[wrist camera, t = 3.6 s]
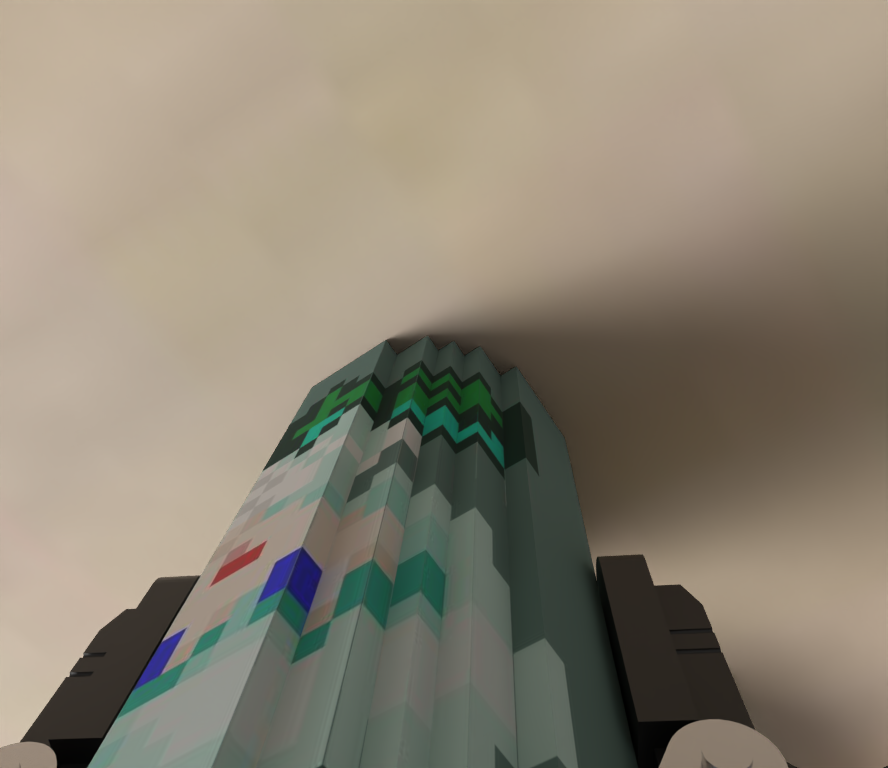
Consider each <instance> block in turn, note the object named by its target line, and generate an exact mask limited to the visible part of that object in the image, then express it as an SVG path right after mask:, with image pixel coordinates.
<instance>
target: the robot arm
mask: <svg viewBox="0 0 888 768" xmlns="http://www.w3.org/2000/svg"><path fill="white" fill-rule="evenodd" d="M200 576H201V575H200ZM200 576H180V577H161V578H158V579H157V580H156V581H155V582H154V583H153V584H152V586H151V587H150V589H149V590H148V592H147V593H146V595H145V596H144V598H143V599H142V601H141V602H140V604H139V605H138V607H137V608H136V609H126V610H125V611H124V612H122V613H121V614H120V615H119V616H117V617H116V618H115V619H113V620H112V621H111V622H110V623H108V624H107V625H106V626H105V627H103V628H102V629H101V630H100V631H99V632H98V634H97V635H96V636H95V638H94V639H93V641H92V642H91V643H90V645H89V646H88V648H87V649H86V650H85V652H84V653H83V654H84V656H83V658H80V659H79V660H78V662H77V663H76V664H75V666H74V667H73V669H72V670H71V671H70V677H66V678H65V680H64V681H63V683H62V684H61V685H60V687H59V688H58V690H57V691H56V692H55V694H54V695H53V697H52V698H51V699H50V701H49V702H48V704H47V705H46V706H45V708H44V709H43V711H42V712H41V713H40V715H39V716H38V718H37V719H36V720H35V722H34V723H33V725H32V726H31V727H30V729H29V730H28V732H27V733H26V734H25V736H24V737H23V739H22V740H21V741H20V743H15V744H11V745H8V746H4V747H1V748H0V768H87V767H88V766H89V764H90V762H91V761H92V759H93V757H94V756H95V754H96V752H97V750H98V749H99V747H100V745H101V744H102V742H103V740H104V739H105V737H106V735H107V734H108V732H109V730H110V728H111V727H112V725H113V723H114V722H115V720H116V718H117V717H118V715H119V713H120V712H121V710H122V708H123V706H124V705H125V703H126V701H127V700H128V698H129V696H130V695H131V693H132V691H133V690H134V688H135V686H136V684H137V683H138V681H139V679H140V678H141V676H142V674H143V673H144V671H145V669H146V667H147V666H148V664H149V662H150V661H151V659H152V657H153V656H154V654H155V652H156V651H157V649H158V647H159V645H160V644H161V642H162V640H163V639H164V637H165V635H166V634H167V632H168V630H169V629H170V627H171V625H172V623H173V622H174V620H175V618H176V617H177V615H178V613H179V612H180V610H181V608H182V607H183V605H184V603H185V601H186V600H187V598H188V596H189V595H190V593H191V591H192V590H193V588H194V586H195V585H196V583H197V581H198V579H199V578H200ZM596 577H597V585H598V590H599V594H600V599H601V603H602V608H603V612H604V617H605V621H606V626H607V630H608V635H609V639H610V644H611V648H612V653H613V657H614V662H615V666H616V671H617V675H618V680H619V684H620V689H621V693H622V698H623V702H624V707H625V711H626V716H627V720H628V725H629V729H630V734H631V738H632V743H633V747H634V752H635V756H636V761H637V765H638V768H797V767H795V766H793V765H791V764H789V763H788V762H786V760H785V758H784V757H783V755H782V753H781V752H780V750H779V749H778V748H777V747H776V746H775V745H774V744H773V743H772V742H771V741H770V740H769V739H768V738H767V737H765V736H764V735H762V734H761V733H759V732H758V731H756V730H755V729H754V727H753V724H752V722H751V720H750V717H749V715H748V712H747V710H746V708H745V705H744V703H743V700H742V698H741V696H740V693H739V691H738V689H737V686H736V684H735V681H734V679H733V677H732V674H731V672H730V669H729V667H728V665H727V662H726V660H725V658H724V655H723V653H721V650H720V646H719V643H718V641H717V638H716V636H715V634H714V633H713V632H712V627H711V624H710V622H709V619H708V617H707V615H706V612H705V610H704V607H703V605H702V604H701V603H700V602H699V601H698V600H697V599H696V598H695V597H693V596H692V595H691V594H690V593H689V592H688V591H687V590H686V589H684V588H683V587H682V586H681V585H661V586H654V584H653V581H652V578H651V575H650V572H649V569H648V566H647V563H646V560H645V558H644V556H643V555H623V556H602V557H597V561H596ZM884 768H888V766H886V767H884Z"/></svg>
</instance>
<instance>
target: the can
mask: <svg viewBox="0 0 888 768" xmlns="http://www.w3.org/2000/svg"><path fill="white" fill-rule="evenodd" d="M87 768H638V765H637V761H636V756H635V752H634V747H633V743H632V738H631V734H630V729H629V725H628V720H627V716H626V711H625V707H624V702H623V698H622V693H621V689H620V684H619V680H618V675H617V671H616V666H615V662H614V657H613V653H612V648H611V644H610V639H609V635H608V630H607V626H606V621H605V617H604V612H603V608H602V603H601V599H600V594H599V590H598V585H597V581H596V576H595V572H594V567H593V563H592V558H591V554H590V549H589V545H588V540H587V536H586V531H585V527H584V522H583V518H582V513H581V509H580V504H579V500H578V495H577V491H576V486H575V482H574V477H573V473H572V468H571V464H570V459H569V455H568V450H567V446H566V441H565V438H564V436H563V435H562V433H561V432H560V430H559V429H558V428H557V426H556V425H555V423H554V422H553V420H552V419H551V417H550V416H549V414H548V413H547V411H546V410H545V408H544V407H543V405H542V404H541V402H540V401H539V399H538V398H537V396H536V395H535V393H534V392H533V390H532V389H531V387H530V386H529V384H528V383H527V381H526V380H525V378H524V377H523V375H522V374H521V372H520V371H519V370H518V368H517V367H514V368H513V369H511V370H510V371H508V372H506V373H505V374H503V375H501V376H500V374H499V373H498V372H497V370H496V369H495V367H494V366H493V364H492V363H491V361H490V360H489V358H488V357H487V355H486V354H485V352H484V351H483V350H482V348H481V347H480V346H479V347H478V348H476V349H475V350H473V351H471V352H470V353H468V354H467V355H465V356H464V355H463V353H462V352H461V350H460V349H459V347H458V346H457V344H456V343H455V342H454V341H453V342H451V343H450V344H448V345H446V346H445V347H443V348H442V349H440V350H438V349H437V348H436V347H435V345H434V344H433V342H432V341H431V339H430V338H429V337H428V336H426V337H424V338H423V339H421V340H420V341H418V342H417V343H415V344H413V345H412V346H410V347H409V348H407V349H406V350H404V351H402V352H401V353H399V354H398V355H396V353H395V352H394V350H393V349H392V348H391V346H390V345H389V343H388V342H387V341H386V340H385V341H384V342H382V343H381V344H379V345H377V346H376V347H374V348H373V349H371V350H370V351H368V352H367V353H365V354H363V355H362V356H360V357H359V358H357V359H356V360H354V361H353V362H351V363H349V364H348V365H346V366H345V367H343V368H342V369H340V370H339V371H337V372H335V373H334V374H332V375H331V376H329V377H328V378H326V379H325V380H323V381H321V382H320V383H318V384H317V385H315V386H314V387H312V388H311V390H310V392H309V393H308V395H307V397H306V398H305V400H304V402H303V403H302V405H301V407H300V409H299V410H298V412H297V414H296V415H295V417H294V419H293V420H292V422H291V424H290V425H289V427H288V429H287V431H286V432H285V434H284V436H283V437H282V439H281V441H280V442H279V444H278V446H277V447H276V449H275V451H274V453H273V454H272V456H271V458H270V459H269V461H268V463H267V464H266V466H265V468H264V469H263V471H262V473H261V475H260V476H259V478H258V480H257V481H256V483H255V485H254V486H253V488H252V490H251V491H250V493H249V495H248V497H247V498H246V500H245V502H244V503H243V505H242V507H241V508H240V510H239V512H238V513H237V515H236V517H235V519H234V520H233V522H232V524H231V525H230V527H229V529H228V530H227V532H226V534H225V535H224V537H223V539H222V541H221V542H220V544H219V546H218V547H217V549H216V551H215V552H214V554H213V556H212V557H211V559H210V561H209V563H208V564H207V566H206V568H205V569H204V571H203V573H202V574H201V576H200V578H199V579H198V581H197V583H196V585H195V586H194V588H193V590H192V591H191V593H190V595H189V596H188V598H187V600H186V601H185V603H184V605H183V607H182V608H181V610H180V612H179V613H178V615H177V617H176V618H175V620H174V622H173V623H172V625H171V627H170V629H169V630H168V632H167V634H166V635H165V637H164V639H163V640H162V642H161V644H160V645H159V647H158V649H157V651H156V652H155V654H154V656H153V657H152V659H151V661H150V662H149V664H148V666H147V667H146V669H145V671H144V673H143V674H142V676H141V678H140V679H139V681H138V683H137V684H136V686H135V688H134V690H133V691H132V693H131V695H130V696H129V698H128V700H127V701H126V703H125V705H124V706H123V708H122V710H121V712H120V713H119V715H118V717H117V718H116V720H115V722H114V723H113V725H112V727H111V728H110V730H109V732H108V734H107V735H106V737H105V739H104V740H103V742H102V744H101V745H100V747H99V749H98V750H97V752H96V754H95V756H94V757H93V759H92V761H91V762H90V764H89V766H88V767H87Z"/></svg>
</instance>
